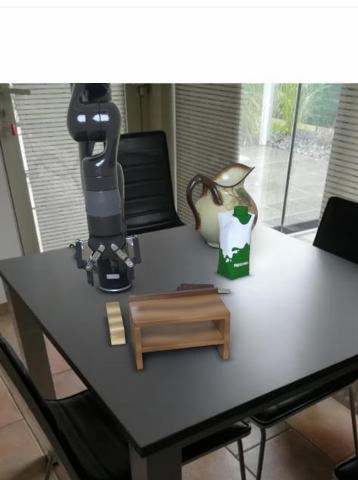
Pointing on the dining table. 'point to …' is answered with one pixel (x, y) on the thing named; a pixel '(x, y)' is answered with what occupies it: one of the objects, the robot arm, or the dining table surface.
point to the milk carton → (235, 242)
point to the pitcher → (219, 199)
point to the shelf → (178, 321)
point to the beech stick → (115, 323)
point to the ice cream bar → (200, 287)
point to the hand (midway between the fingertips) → (111, 283)
